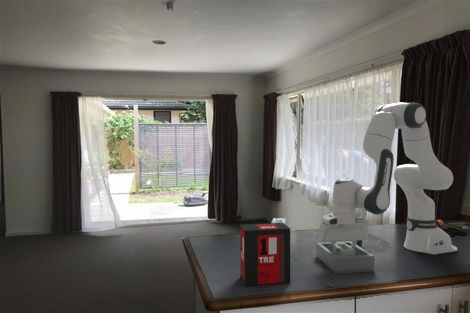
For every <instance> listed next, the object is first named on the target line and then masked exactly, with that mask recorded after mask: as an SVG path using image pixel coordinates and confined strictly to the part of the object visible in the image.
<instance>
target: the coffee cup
mask: <svg viewBox="0 0 470 313" xmlns="http://www.w3.org/2000/svg"><path fill="white" fill-rule="evenodd" d="M363 241H364V240H357V244H356V245H358V246H359V247H361V248H362V247H363V246H362V245H363ZM351 242H352V241H351Z"/></svg>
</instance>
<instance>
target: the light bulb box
mask: <svg viewBox="0 0 470 313" xmlns="http://www.w3.org/2000/svg"><path fill="white" fill-rule="evenodd" d="M270 223H284V224H285V225H286V226H287V218H280V217H279V218H278V217H273V219H272V221H271V222H270Z"/></svg>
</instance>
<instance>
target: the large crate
mask: <svg viewBox="0 0 470 313" xmlns="http://www.w3.org/2000/svg"><path fill="white" fill-rule="evenodd" d="M339 243H345V244H347V245H348V246H351V244H352V242H351V241H338V242H336V244H339ZM354 250H355V256H339V257H337V256H336V255H335V254H334V251H333V246H332V244H331V242H316V244H315V257H316V258H317V259H318V260H319V261H321V263H323V264H324V265H325V266H326V267H327V268H328V269H330V271H332V272H333V273H334V274H347V273H348V274H349V273H365V272H375V255H374V254H372V253H370V252H369V251H368V250H366V249H364V248H362V247H359V246H358V245H355V247H354Z"/></svg>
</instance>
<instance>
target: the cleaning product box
mask: <svg viewBox="0 0 470 313" xmlns="http://www.w3.org/2000/svg"><path fill="white" fill-rule="evenodd" d="M239 242H240V244H239V251H240V252H239V253H240V257H239V258H240V260H239V261H240V262H239V263H240V265H239V267H240V272H239V273H240V279H241V282H242V284H243V286H244V288H253V287H265V286H277V285H278V286H280V285H288V284H289V285H291V228H290V227H289V226H288V225H287V224H286V225H285V224H284V223H271V222H270V223H249V224H240V225H239Z"/></svg>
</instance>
